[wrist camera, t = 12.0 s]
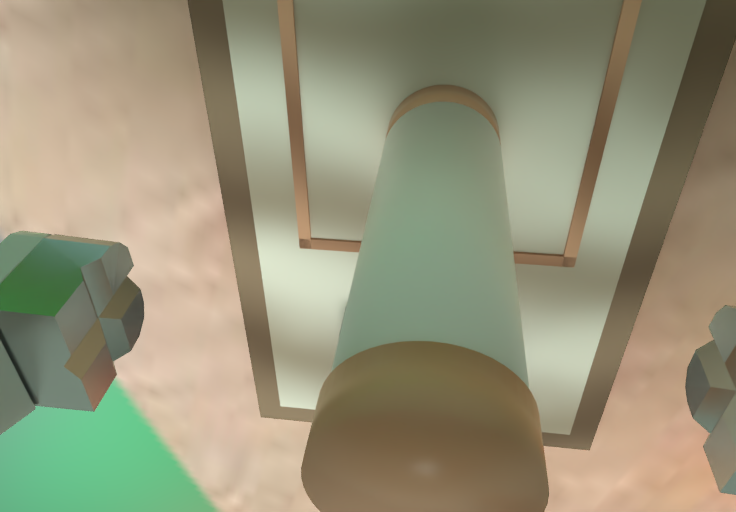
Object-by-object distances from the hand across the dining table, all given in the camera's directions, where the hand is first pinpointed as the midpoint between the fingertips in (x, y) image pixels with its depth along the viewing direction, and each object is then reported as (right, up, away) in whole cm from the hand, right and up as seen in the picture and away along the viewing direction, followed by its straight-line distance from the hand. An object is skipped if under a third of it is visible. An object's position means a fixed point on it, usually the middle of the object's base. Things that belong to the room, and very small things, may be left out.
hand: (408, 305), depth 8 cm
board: (+2, +2, +12) cm, 12 cm away
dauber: (+2, +4, +9) cm, 10 cm away
